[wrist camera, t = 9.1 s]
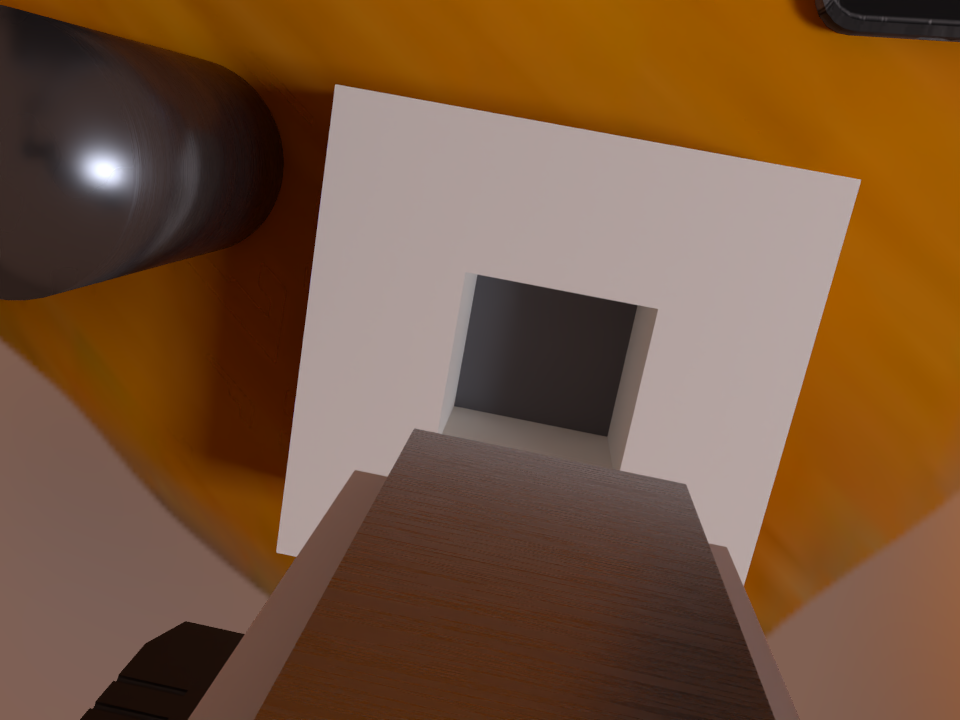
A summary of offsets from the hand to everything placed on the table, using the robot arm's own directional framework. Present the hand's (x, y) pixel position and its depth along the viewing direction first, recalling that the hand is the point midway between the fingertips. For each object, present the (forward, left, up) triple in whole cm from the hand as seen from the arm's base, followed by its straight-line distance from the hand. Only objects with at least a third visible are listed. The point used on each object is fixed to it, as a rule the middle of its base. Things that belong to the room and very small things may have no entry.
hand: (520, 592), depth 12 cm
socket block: (0, 0, -17) cm, 17 cm away
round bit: (-4, -13, -17) cm, 22 cm away
